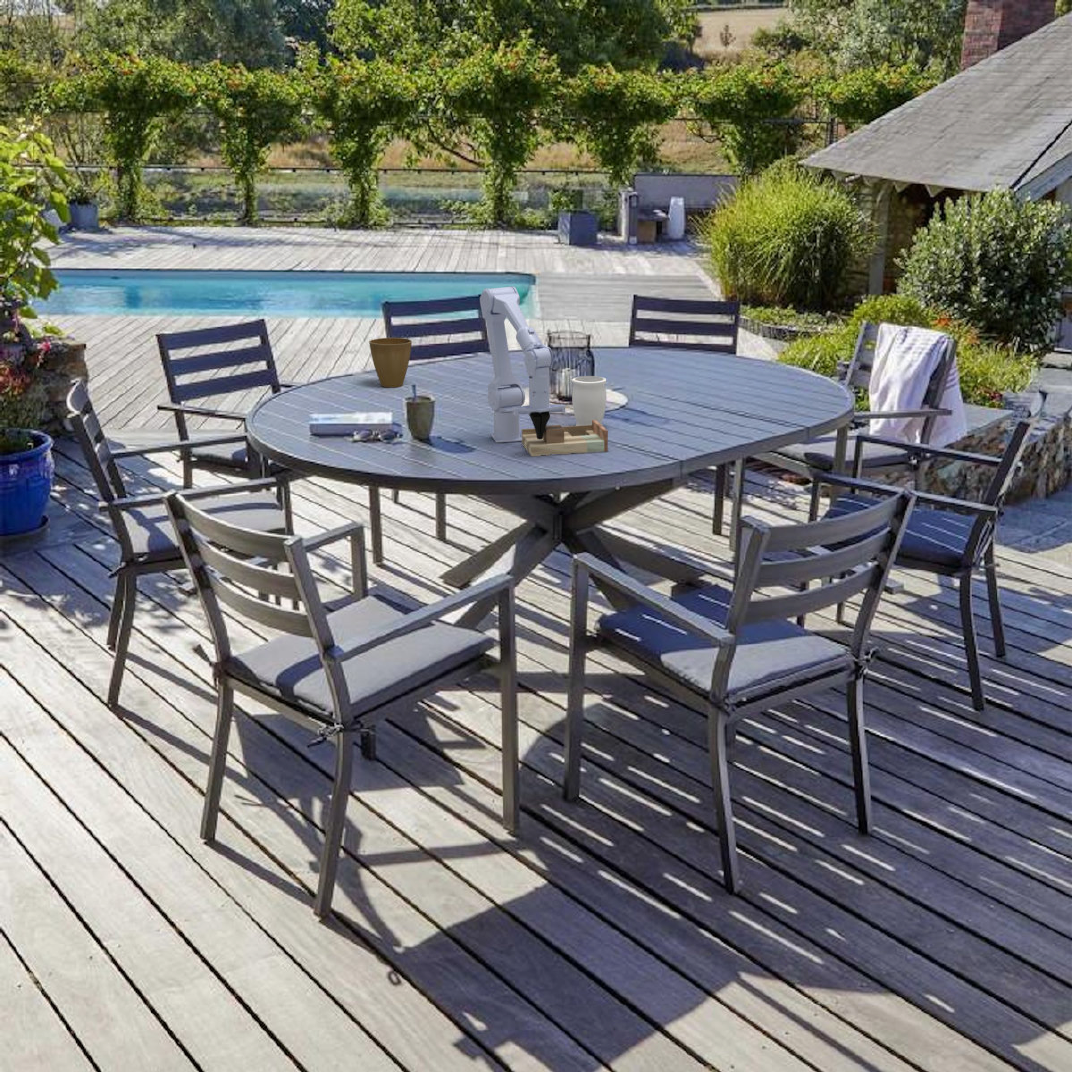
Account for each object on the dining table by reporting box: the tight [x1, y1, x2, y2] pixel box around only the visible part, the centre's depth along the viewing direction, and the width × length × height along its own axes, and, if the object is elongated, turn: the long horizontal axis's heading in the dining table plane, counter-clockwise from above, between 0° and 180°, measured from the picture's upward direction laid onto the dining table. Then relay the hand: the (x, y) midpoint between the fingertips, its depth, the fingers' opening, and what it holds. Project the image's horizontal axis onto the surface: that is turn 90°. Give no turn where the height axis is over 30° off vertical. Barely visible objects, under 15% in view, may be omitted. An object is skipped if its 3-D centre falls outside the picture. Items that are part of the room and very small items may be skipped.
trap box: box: [521, 420, 609, 457], centre depth 359 cm, size 14×22×6 cm, turn 102°
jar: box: [571, 375, 607, 427], centre depth 381 cm, size 11×10×15 cm
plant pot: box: [368, 337, 413, 388], centre depth 443 cm, size 15×15×16 cm
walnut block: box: [543, 424, 564, 444], centre depth 355 cm, size 5×5×4 cm
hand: (539, 438), depth 355 cm, fingers closed
